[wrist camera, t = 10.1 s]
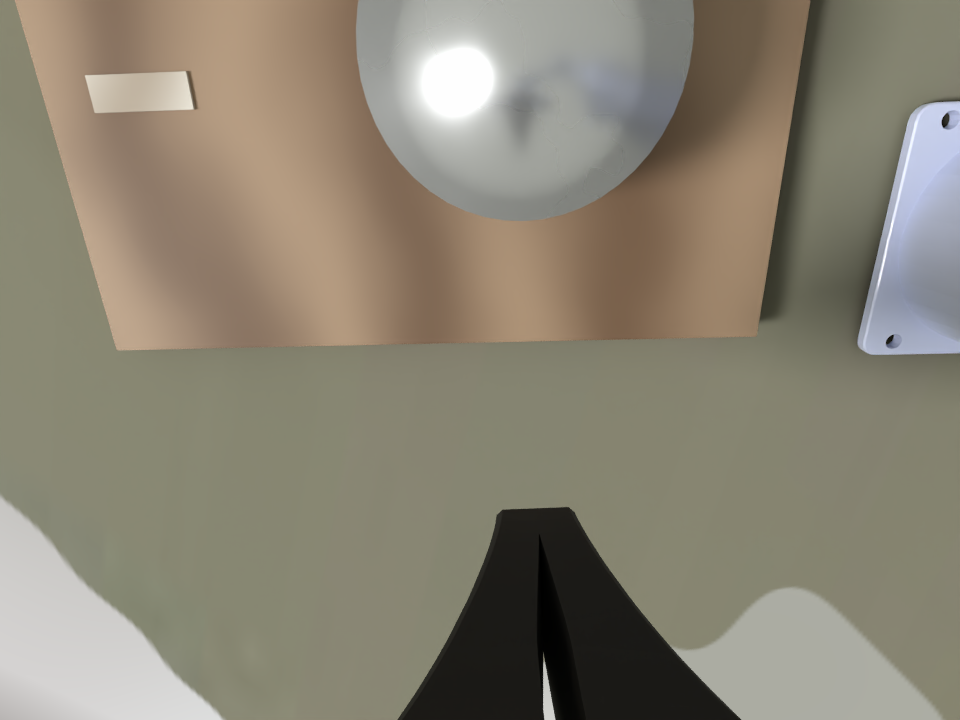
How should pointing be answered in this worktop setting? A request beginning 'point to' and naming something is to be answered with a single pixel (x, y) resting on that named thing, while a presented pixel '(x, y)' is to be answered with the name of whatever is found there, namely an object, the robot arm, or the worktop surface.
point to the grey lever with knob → (522, 94)
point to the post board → (388, 188)
